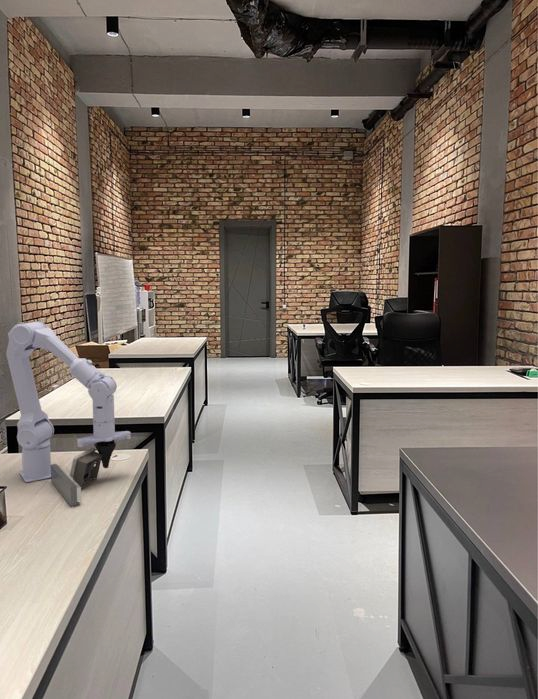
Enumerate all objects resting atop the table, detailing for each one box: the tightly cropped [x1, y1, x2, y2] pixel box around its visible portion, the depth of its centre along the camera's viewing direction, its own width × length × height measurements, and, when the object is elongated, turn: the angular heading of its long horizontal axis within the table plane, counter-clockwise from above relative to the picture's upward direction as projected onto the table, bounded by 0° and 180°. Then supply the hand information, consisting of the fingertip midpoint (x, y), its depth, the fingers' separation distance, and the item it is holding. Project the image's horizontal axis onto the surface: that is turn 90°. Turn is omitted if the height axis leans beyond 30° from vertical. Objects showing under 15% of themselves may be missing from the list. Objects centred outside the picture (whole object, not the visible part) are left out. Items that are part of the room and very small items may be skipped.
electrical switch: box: [69, 447, 102, 490], centre depth 146 cm, size 9×5×9 cm, turn 166°
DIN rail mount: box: [50, 463, 82, 508], centre depth 140 cm, size 20×2×5 cm, turn 35°
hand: (105, 467), depth 150 cm, fingers closed
